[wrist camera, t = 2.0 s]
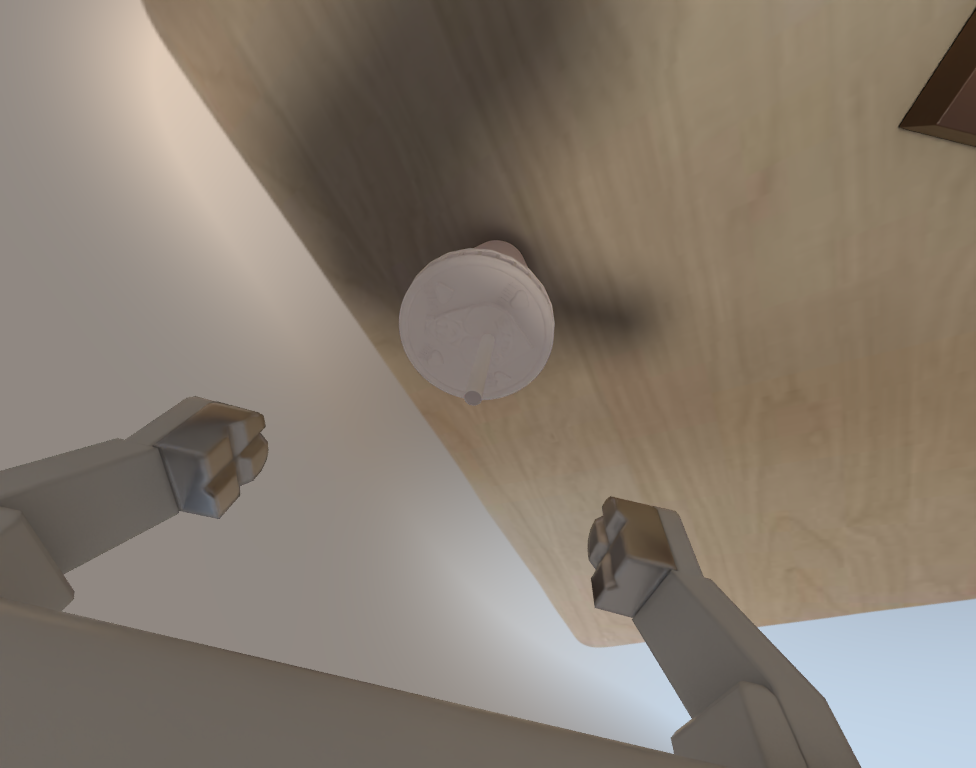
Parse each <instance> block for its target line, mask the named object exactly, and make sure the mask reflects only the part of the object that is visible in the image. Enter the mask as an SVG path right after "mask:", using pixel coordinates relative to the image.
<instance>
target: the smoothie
mask: <svg viewBox="0 0 976 768" xmlns="http://www.w3.org/2000/svg"><path fill="white" fill-rule="evenodd" d="M554 326H555V322H554V315H553V308H552V304H551V301H550V299H549V297H548V295H547V292H546V290H545V288H544V286H543V285H542V283H541V282H540V281H539V280H538V279H537V277H536V276H535V275H534V274H533V273H532V271H531V270H530V269H528V267H527V265H526V262H525V260H524V258H523V256H522V254H521V253H520V251H519V250H518V249H517V248H516V247H514V246H513V245H511V244H510V243H507V242H505V241H500V240H492V241H488V242H485V243H483V244H481V245H479V246H477V247H475V248H467V249H462V250H458V251H453V252H448V253H446V254H444V255H442V256H441V257H439V258H437V259H435V260H433V261H431V262H430V263H429V264H428V265H427V266H426V267H425V268H424V269H423V270H422V271H421V272H420V273H419V274H418V275H416V277H415V279H414V280H413V282H412V284H411V285H410V287H409V289H408V290H407V292H406V294H405V296H404V298H403V301H402V304H401V308H400V314H399V332H400V338H401V342H402V345H403V348H404V350H405V353H406V355H407V356H408V358H409V360H410V362H411V363H412V365H413V366H414V367H415V369H416V370H417V371H418V372H419V373H420V374H421V375H422V376H423V377H424V378H425V379H426V380H427V381H428V382H430V383H431V384H432V385H434V386H436V387H437V388H439V389H441V390H442V391H444V392H447V393H449V394H451V395H454V396H457V397H461V398H464V400H465V402H466V403H468V404H469V405H478V404H480V403H481V401H482V400H490V399H497V398H501V397H505V396H508V395H511V394H513V393H515V392H517V391H519V390H521V389H522V388H524V387H525V386H527V385H528V384H529V383H530V382H532V381H533V380H534V379H535V378H536V377H537V376H538V374H539V373H540V372H541V371H542V369H543V368H544V366H545V364H546V362H547V360H548V358H549V356H550V353H551V350H552V346H553V339H554Z"/></svg>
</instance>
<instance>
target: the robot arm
mask: <svg viewBox="0 0 976 768" xmlns="http://www.w3.org/2000/svg"><path fill="white" fill-rule="evenodd" d="M264 428H265V420H264V416H263V415H262V414H260V413H258V412H255V411H251V410H247V409H243V408H240V407H236V406H232V405H228V404H225V403H221V402H215V401H211V400H207V399H204V398H200V397H196V396H194V397H189V398H186V399H185V400H183V401H181V402H180V403H178V404H177V405H176V406H174V407H173V408H171V409H170V410H168V411H167V412H165V413H164V414H162V415H161V416H159V417H158V418H156V419H155V420H153V421H152V422H150V423H149V424H147V425H146V426H145V427H143V428H142V429H140V430H139V431H137V432H136V433H134V434H133V435H131V436H130V437H128V438H127V439H125V440H123V439H118V438H117V439H113V440H109V441H106V442H103V443H99V444H95V445H91V446H88V447H84V448H81V449H77V450H74V451H70V452H66V453H63V454H59V455H56V456H52V457H49V458H45V459H42V460H38V461H34V462H31V463H28V464H24V465H20V466H16V467H13V468H9V469H6V470H3V471H0V768H861V766H860V764H859V762H858V760H857V759H856V757H855V755H854V753H853V751H852V749H851V747H850V745H849V743H848V742H847V739H846V738H845V736H844V734H843V732H842V730H841V728H840V726H839V724H838V722H837V721H836V718H835V717H834V715H833V713H832V711H831V709H830V708H829V705H828V703H827V701H826V699H825V698H824V697H823V696H822V695H821V694H820V693H819V692H818V691H817V690H816V689H815V687H814V686H813V685H811V683H810V682H808V680H807V679H806V678H805V677H804V676H803V675H802V674H801V673H800V672H799V671H798V670H797V669H796V668H795V667H794V666H793V665H792V663H791V662H790V661H789V660H788V659H787V658H786V657H785V656H784V655H783V654H782V653H781V652H780V651H779V650H778V649H777V648H776V647H775V646H774V645H773V644H772V643H771V642H770V640H769V639H767V637H766V636H765V635H764V634H763V633H762V632H761V631H760V630H759V629H758V628H757V627H756V626H755V625H754V624H753V623H752V622H751V621H750V620H749V619H748V618H747V616H746V615H745V614H744V613H743V612H742V611H741V610H740V609H739V608H738V607H737V606H736V605H735V604H734V603H733V602H732V601H731V600H730V599H729V598H728V597H727V596H726V595H725V593H724V592H723V591H722V590H721V589H720V588H719V587H718V586H717V585H716V584H715V583H714V582H713V581H712V580H711V579H708V578H704V576H703V574H702V571H701V569H700V566H699V564H698V561H697V559H696V556H695V554H694V551H693V549H692V546H691V544H690V541H689V539H688V536H687V534H686V531H685V529H684V526H683V524H682V521H681V519H680V516H679V515H678V514H677V512H676V511H673V510H669V509H664V508H660V507H656V506H650V505H646V504H642V503H637V502H633V501H629V500H624V499H620V498H616V497H611V496H610V497H609V498H608V499H606V501H605V502H604V504H603V506H602V511H603V516H601V517H599V518H597V519H595V521H594V523H593V525H592V527H591V529H590V533H589V538H588V558H589V561H590V562H591V564H592V565H593V567H594V568H595V569H596V571H595V573H594V574H593V576H592V578H591V582H592V590H593V598H594V605H595V608H598V609H601V610H605V611H609V612H613V613H616V614H620V615H624V616H628V617H631V618H633V619H632V620H633V622H634V624H635V625H636V627H637V629H638V630H639V632H640V634H641V635H642V637H643V639H644V640H645V642H646V644H647V645H648V647H649V648H650V650H651V652H652V653H653V655H654V657H655V658H656V660H657V662H658V663H659V665H660V667H661V668H662V670H663V672H664V673H665V675H666V676H667V678H668V680H669V682H670V683H671V685H672V686H673V688H674V689H675V691H676V693H677V695H678V696H679V698H680V700H681V701H682V703H683V704H684V706H685V708H686V709H687V711H688V713H689V715H690V716H691V718H692V719H691V720H690V721H689V722H687V723H686V724H685V725H684V726H682V727H681V728H680V729H678V730H677V731H676V732H675V733H674V735H673V736H672V737H671V741H672V745H673V750H674V754H671V753H666V752H662V751H658V750H653V749H649V748H645V747H641V746H637V745H632V744H628V743H624V742H619V741H615V740H610V739H607V738H602V737H598V736H594V735H589V734H585V733H581V732H576V731H572V730H568V729H564V728H559V727H555V726H550V725H547V724H542V723H538V722H533V721H529V720H525V719H521V718H517V717H512V716H508V715H504V714H499V713H495V712H491V711H486V710H482V709H478V708H474V707H469V706H465V705H461V704H457V703H452V702H448V701H443V700H439V699H435V698H430V697H427V696H422V695H418V694H413V693H409V692H405V691H401V690H397V689H392V688H388V687H384V686H379V685H375V684H371V683H367V682H362V681H358V680H353V679H349V678H345V677H341V676H337V675H332V674H328V673H324V672H319V671H315V670H311V669H307V668H302V667H297V666H293V665H289V664H285V663H281V662H276V661H272V660H268V659H264V658H259V657H255V656H251V655H246V654H242V653H238V652H234V651H229V650H225V649H221V648H216V647H212V646H208V645H204V644H199V643H194V642H191V641H186V640H182V639H178V638H173V637H169V636H165V635H161V634H156V633H152V632H148V631H143V630H139V629H134V628H131V627H126V626H122V625H117V624H113V623H109V622H105V621H100V620H96V619H92V618H87V617H83V616H79V615H75V614H70V613H66V612H62V610H63V609H64V608H65V607H66V606H67V605H68V604H69V603H70V602H71V601H72V600H73V599H74V590H73V589H72V587H71V586H70V584H69V583H68V582H67V580H66V578H65V577H64V575H63V574H65V573H67V572H69V571H71V570H73V569H74V568H76V567H78V566H80V565H82V564H84V563H86V562H88V561H90V560H91V559H93V558H95V557H97V556H99V555H101V554H103V553H105V552H107V551H108V550H110V549H112V548H114V547H116V546H118V545H120V544H122V543H124V542H125V541H127V540H129V539H131V538H133V537H135V536H137V535H139V534H141V533H142V532H144V531H146V530H148V529H150V528H152V527H154V526H156V525H158V524H159V523H161V522H163V521H165V520H167V519H169V518H171V517H173V516H175V515H177V514H178V513H179V511H183V512H187V513H192V514H198V515H202V516H207V517H212V518H217V519H220V518H221V516H222V515H223V514H224V513H225V512H226V511H227V510H228V509H229V507H230V506H231V505H232V504H233V503H234V502H235V501H236V500H237V498H238V497H239V496H240V486H242V485H244V484H246V483H249V482H251V481H253V480H254V479H255V478H256V477H257V475H258V474H259V473H260V472H261V470H262V468H263V466H264V464H265V462H266V460H267V456H268V442H267V440H266V439H265V438H264V437H263V436H262V434H261V433H260V432H261V431H262V430H263V429H264Z"/></svg>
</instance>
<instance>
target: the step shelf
mask: <svg viewBox="0 0 976 768" xmlns="http://www.w3.org/2000/svg"><path fill="white" fill-rule="evenodd" d="M900 128H903V129H907V130H911V131H915V132H919V133H923V134H927V135H931V136H935V137H939V138H943V139H947V140H951V141H955V142H959V143H963V144H967V145H971V146H975V147H976V10H975V12H974V13H973V15H972V16H971V18H970V19H969V21H968V22H967V24H966V26H965V27H964V29H963V30H962V32H961V33H960V35H959V36H958V38H957V39H956V41H955V42H954V44H953V45H952V47H951V48H950V50H949V52H948V53H947V55H946V56H945V58H944V59H943V61H942V62H941V64H940V65H939V67H938V68H937V70H936V71H935V73H934V74H933V76H932V78H931V79H930V81H929V82H928V84H927V85H926V87H925V88H924V90H923V91H922V93H921V94H920V96H919V97H918V99H917V100H916V102H915V104H914V105H913V107H912V108H911V110H910V111H909V113H908V114H907V116H906V117H905V119H904V120H903V122H902V123H901V125H900Z"/></svg>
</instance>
